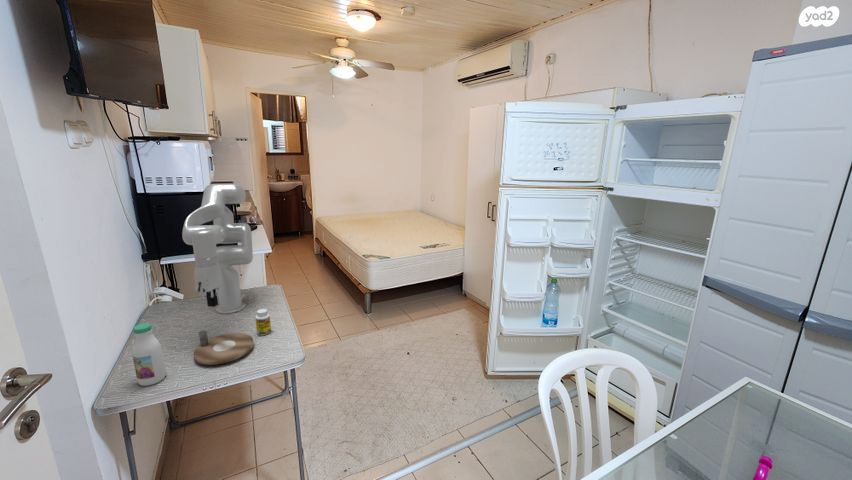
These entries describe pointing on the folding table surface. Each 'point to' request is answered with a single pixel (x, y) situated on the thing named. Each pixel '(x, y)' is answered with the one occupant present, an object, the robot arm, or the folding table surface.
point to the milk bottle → (147, 356)
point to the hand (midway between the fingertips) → (213, 305)
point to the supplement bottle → (263, 322)
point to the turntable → (222, 348)
